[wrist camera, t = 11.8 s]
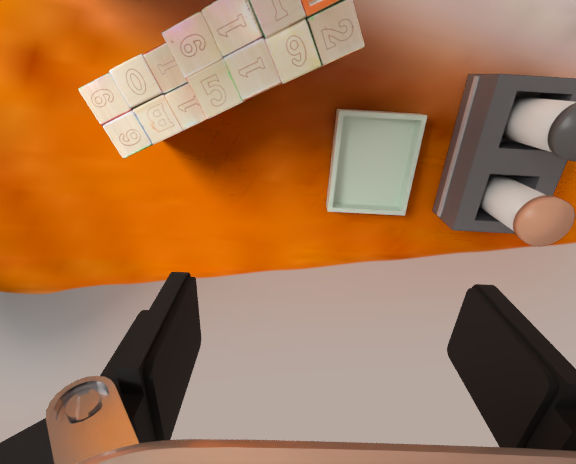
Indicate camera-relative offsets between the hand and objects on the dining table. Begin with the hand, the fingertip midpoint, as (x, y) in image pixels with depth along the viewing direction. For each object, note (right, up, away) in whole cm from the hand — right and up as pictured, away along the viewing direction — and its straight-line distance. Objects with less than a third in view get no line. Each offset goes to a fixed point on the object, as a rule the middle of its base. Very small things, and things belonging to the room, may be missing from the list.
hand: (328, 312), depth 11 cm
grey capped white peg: (+21, +15, +22) cm, 34 cm away
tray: (+8, +11, +26) cm, 29 cm away
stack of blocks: (-7, +19, +22) cm, 30 cm away
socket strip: (+21, +12, +25) cm, 35 cm away
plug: (+21, +8, +26) cm, 34 cm away
